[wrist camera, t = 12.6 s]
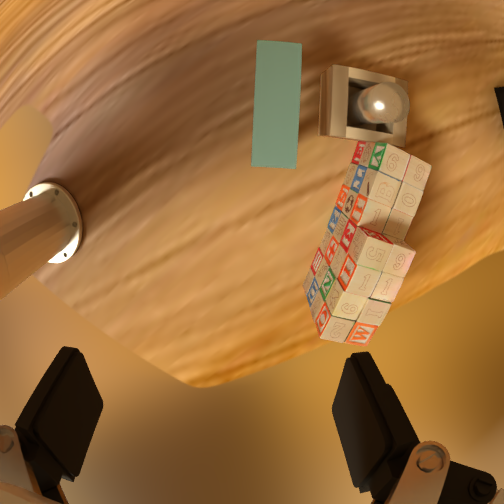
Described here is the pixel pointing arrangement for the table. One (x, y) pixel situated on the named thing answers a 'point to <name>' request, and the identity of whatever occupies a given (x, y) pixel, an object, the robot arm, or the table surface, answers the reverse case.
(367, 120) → the peg
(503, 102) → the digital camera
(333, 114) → the socket
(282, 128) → the teal bridge block
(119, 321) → the table surface
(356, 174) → the stack of blocks
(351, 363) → the robot arm
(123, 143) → the table surface
